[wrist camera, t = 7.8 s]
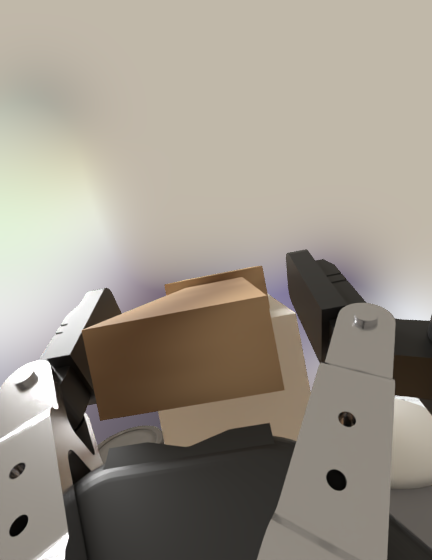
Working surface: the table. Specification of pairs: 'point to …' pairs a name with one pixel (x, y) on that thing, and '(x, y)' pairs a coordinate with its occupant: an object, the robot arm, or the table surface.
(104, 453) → the coffee can
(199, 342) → the oak block
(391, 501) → the gray box
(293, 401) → the tall plinth
